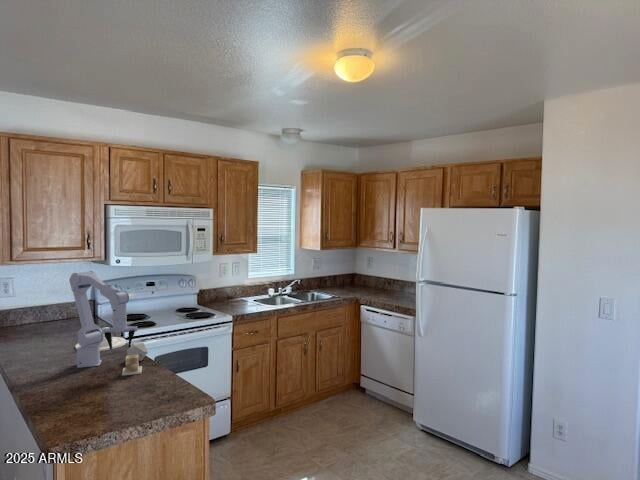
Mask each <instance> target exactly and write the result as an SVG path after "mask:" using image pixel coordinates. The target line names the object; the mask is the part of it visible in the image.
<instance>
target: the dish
mask: <svg viewBox="0 0 640 480" xmlns="http://www.w3.org/2000/svg"><path fill="white" fill-rule="evenodd" d="M106 328H110V327H107V326H105V327H102V328H101V327H100V329H101V331H102V329H106ZM126 344H127V340H126V338H124V337H119V336H112V349H111V350H113V349H118V348H121V347H123V346H125V345H126ZM78 347H81V346H80V345H79V343H78V342H77V344H75V345H74V348H75V351H77V349H78ZM105 351H110V347H109V344H108V341H107V339H106V338H105V334H103V341H102V342H101V344H100V352H105Z"/></svg>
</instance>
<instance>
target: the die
mask: <svg viewBox="0 0 640 480" xmlns="http://www.w3.org/2000/svg"><path fill="white" fill-rule="evenodd" d="M148 353H149V351H148V349H147V348H146V344H145V343H144V342H132V343H131V347H130V348H129V347H128V349H127V350H126V354H127V355H137V354H138V359H139V362H142V361H143V360H144V358H145V357H146V356H147V354H148Z"/></svg>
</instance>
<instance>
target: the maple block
mask: <svg viewBox="0 0 640 480" xmlns="http://www.w3.org/2000/svg"><path fill="white" fill-rule="evenodd" d="M139 363H140V361H139V359H138V354H137V355H128V354H127V355H126V356H125V368H126V372H132V371H138V368H139V366H140V365H139Z"/></svg>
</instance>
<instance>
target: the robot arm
mask: <svg viewBox="0 0 640 480" xmlns="http://www.w3.org/2000/svg"><path fill="white" fill-rule="evenodd" d="M68 280H69V285H70V289H71V292H72V293H73V297H74V301H75V305H76V309H77V313H78V317H79V321H80V326H81V328H80V329H79V330H78V331H77V333H76V334H77V344H78V343H79V345H80V346H81V347H78V349H77V350H76V364H77V365H76V368H78V369H80V368H89V367H99V366H100V365H101V363H102V359H101V355H100V354H101V351H100V344H101V342H102V341H103V334H105V338H106V339H107V341H108V344H109V347H110V350H111V351H112V350H113V349H112V337H113V333H115V334H116V333H128V349H129V348H130V347H131V345H132V340H133V337H134V335H135V333H136V332H138V325H137V326H128V322H127V317H128V316H127V303H128V302H129V301H130V295H129V292H128V291H126V290H119V288H117V287H115V286H113V284H112V283H105V282H104V281H103V280H101V279H100V278H99V277H98V275H97V273H96V272H94V271H93V270H89V271H81V272H73V273H71V275H70V277H69V279H68ZM92 287H94V288H96V289H97V290H100V294H101V296H103V297H105V298H107V299H108V300H109V303H110V306H111V307H110V308H111V310H112V327H109V328H106V329H102V331H101V329H100V328H101V326H99V325H97V324H95V321H94V317H93V313H92V311H91V306H90V301H89V298H88V294H87V292H88V290H89V289H91V288H92ZM110 350H109V351H110Z"/></svg>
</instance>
